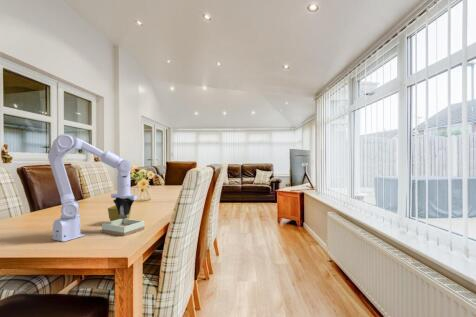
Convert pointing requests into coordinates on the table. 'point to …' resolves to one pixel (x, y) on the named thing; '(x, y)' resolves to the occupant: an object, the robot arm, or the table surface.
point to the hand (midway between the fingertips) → (123, 214)
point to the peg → (122, 212)
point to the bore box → (122, 226)
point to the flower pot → (115, 213)
